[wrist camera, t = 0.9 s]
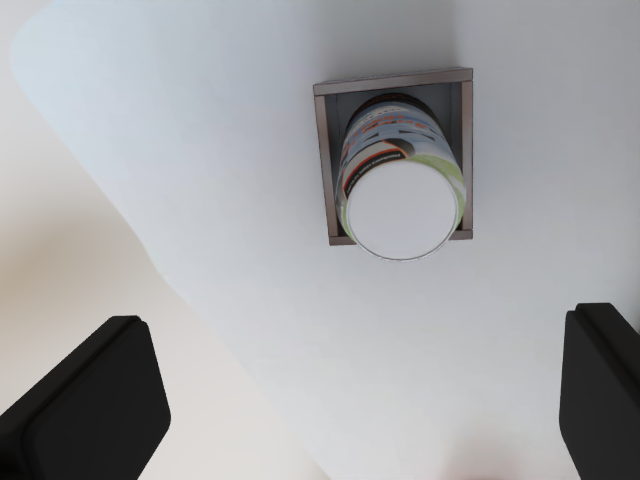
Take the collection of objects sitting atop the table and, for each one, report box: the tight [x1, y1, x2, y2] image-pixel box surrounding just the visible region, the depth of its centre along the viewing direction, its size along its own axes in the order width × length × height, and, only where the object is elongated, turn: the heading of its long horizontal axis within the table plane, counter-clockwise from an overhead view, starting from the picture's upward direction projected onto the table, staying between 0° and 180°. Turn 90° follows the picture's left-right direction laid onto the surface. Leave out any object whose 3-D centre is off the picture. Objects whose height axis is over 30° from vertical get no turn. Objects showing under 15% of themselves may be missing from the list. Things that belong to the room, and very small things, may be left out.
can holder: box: [313, 67, 473, 246], centre depth 29 cm, size 9×8×5 cm
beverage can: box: [335, 93, 466, 262], centre depth 26 cm, size 6×7×12 cm
